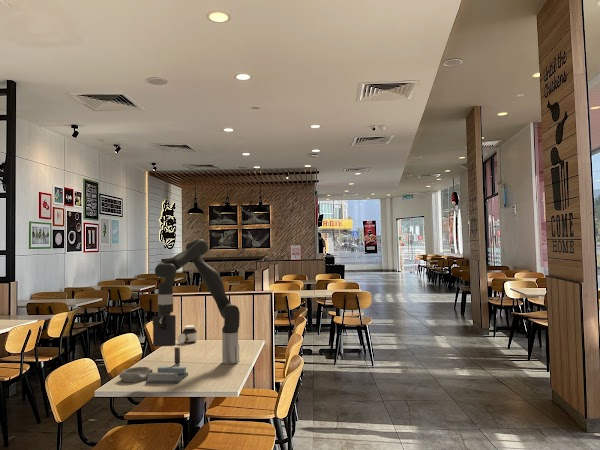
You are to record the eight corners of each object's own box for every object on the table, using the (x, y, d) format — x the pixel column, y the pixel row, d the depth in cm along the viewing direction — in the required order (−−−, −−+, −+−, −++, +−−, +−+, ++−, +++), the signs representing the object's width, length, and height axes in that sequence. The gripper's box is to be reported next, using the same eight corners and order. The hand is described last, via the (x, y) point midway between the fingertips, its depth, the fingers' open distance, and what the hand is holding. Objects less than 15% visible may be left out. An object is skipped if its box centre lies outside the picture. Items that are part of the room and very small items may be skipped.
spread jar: (198, 341, 344) (198, 325, 344) (191, 344, 333) (191, 327, 333) (183, 341, 347) (183, 325, 347) (175, 344, 336) (175, 327, 336)
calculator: (176, 345, 242) (176, 315, 245) (172, 346, 238) (172, 315, 241) (156, 346, 245) (156, 316, 247) (152, 346, 241) (152, 316, 243)
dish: (155, 376, 251) (155, 366, 251) (140, 383, 237) (140, 373, 238) (130, 375, 254) (130, 365, 254) (114, 382, 241) (114, 372, 241)
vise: (158, 375, 253) (158, 366, 253) (188, 375, 251) (188, 366, 251) (146, 383, 237) (146, 374, 238) (177, 383, 236) (177, 374, 236)
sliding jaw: (165, 368, 260) (165, 347, 261) (190, 368, 259) (190, 347, 259) (157, 373, 249) (157, 351, 250) (183, 373, 248) (183, 351, 249)
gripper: (164, 301, 252) (164, 335, 251) (152, 304, 239) (152, 340, 238) (177, 301, 251) (177, 335, 250) (167, 304, 238) (167, 340, 237)
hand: (165, 337), depth 244 cm, fingers closed on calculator, 1 cm apart
